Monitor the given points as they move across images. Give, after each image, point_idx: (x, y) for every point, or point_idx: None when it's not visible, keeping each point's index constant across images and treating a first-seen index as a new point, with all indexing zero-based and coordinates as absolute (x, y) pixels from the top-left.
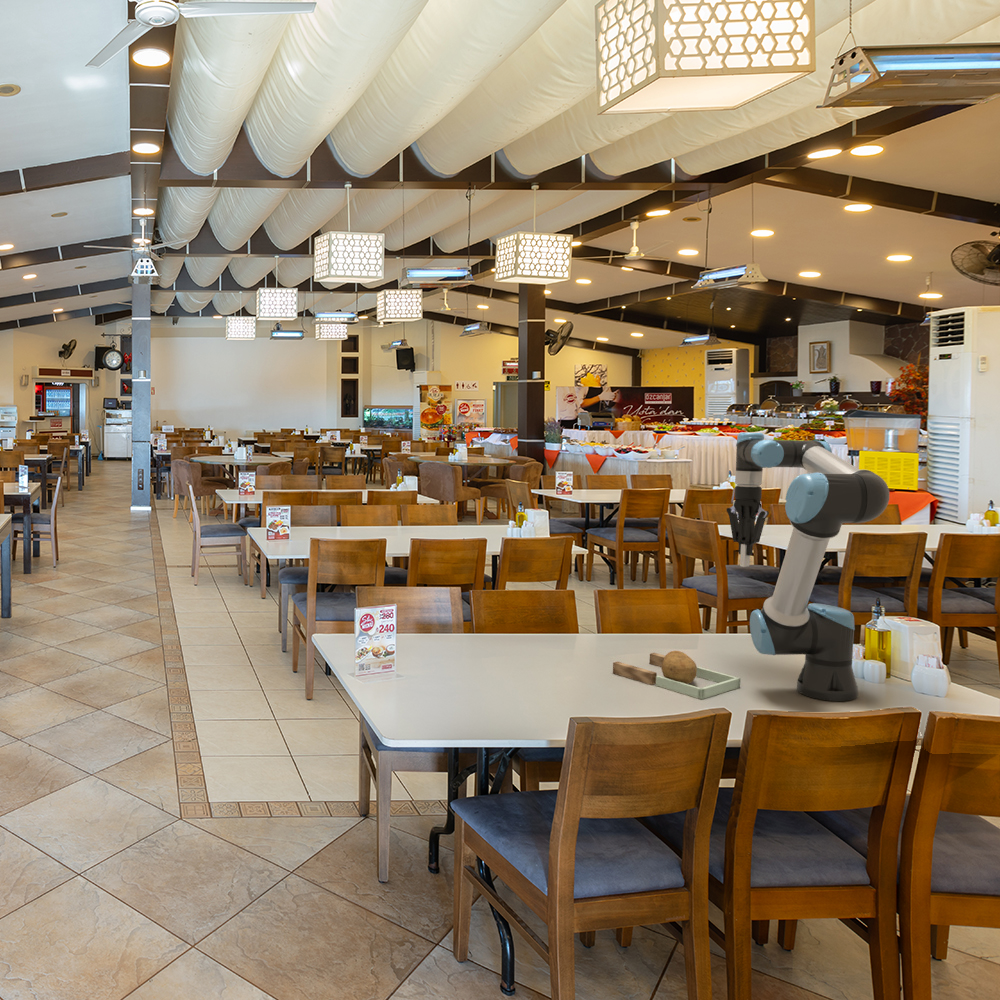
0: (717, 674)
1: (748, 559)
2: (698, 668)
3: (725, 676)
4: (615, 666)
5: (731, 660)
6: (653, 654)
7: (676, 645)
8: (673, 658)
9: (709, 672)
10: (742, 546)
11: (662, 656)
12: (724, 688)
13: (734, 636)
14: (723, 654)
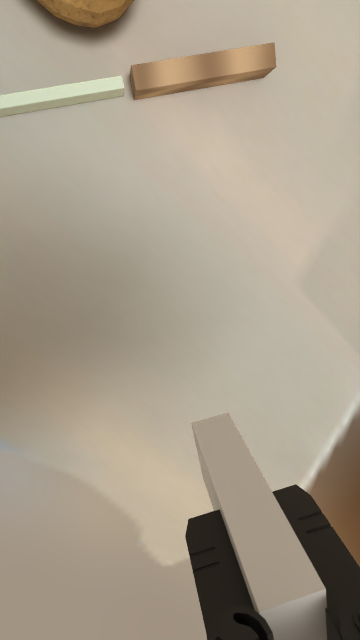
0: (30, 91)
1: (214, 504)
2: (99, 79)
3: (2, 96)
4: None
5: (186, 292)
6: (262, 46)
7: (343, 261)
8: None
9: (59, 86)
10: (288, 568)
11: (233, 56)
12: None
13: (323, 428)
14: (233, 310)
